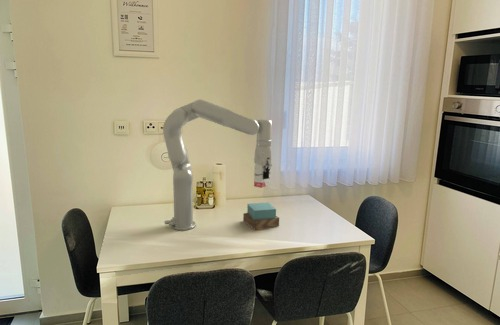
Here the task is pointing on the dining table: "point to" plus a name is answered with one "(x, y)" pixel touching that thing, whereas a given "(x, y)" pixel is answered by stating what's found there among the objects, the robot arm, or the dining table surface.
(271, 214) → the teal top block
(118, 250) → the dining table surface
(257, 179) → the ink box
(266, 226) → the walnut base block
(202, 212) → the dining table surface
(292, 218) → the dining table surface
